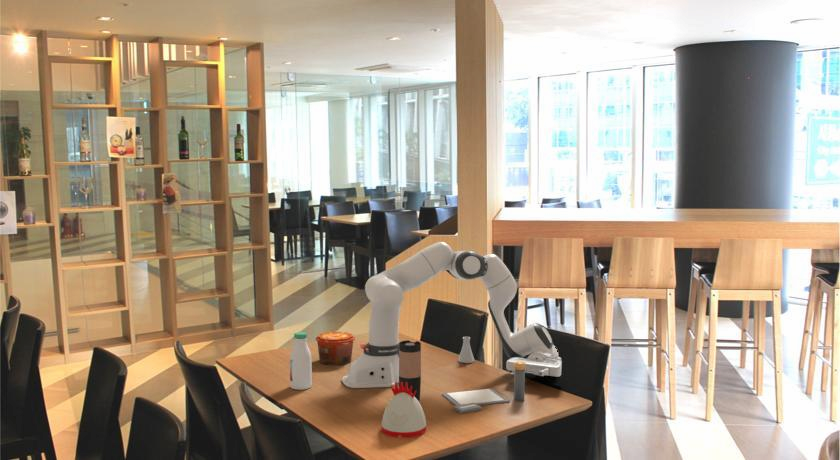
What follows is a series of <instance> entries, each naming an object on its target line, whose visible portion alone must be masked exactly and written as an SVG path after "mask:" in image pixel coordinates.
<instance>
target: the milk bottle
mask: <svg viewBox="0 0 840 460" xmlns="http://www.w3.org/2000/svg"><path fill="white" fill-rule="evenodd" d="M293 340H294V344H293V346H292V349H291V350H290V356H289V379H290V380H289V382H290V383H289V385H290V388H291V389H292V390H296V391H297V390H300V391H301V390H303V391H304V390H308V389H310V388H311V387H312V385H313V384H312V383H313V382H312V380H313V379H312V378H313V377H312V375H313V373H312V372H313V370H312V368H313V367H312V354H311V350H310V348H309V346H308V342H307V340H308V334H307V332H304V331H299V332H295V333H293Z"/></svg>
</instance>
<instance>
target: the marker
mask: <svg viewBox="0 0 840 460" xmlns="http://www.w3.org/2000/svg"><path fill="white" fill-rule="evenodd" d="M513 373H514V377H513V401H516V402H524V401H525V390H526V389H525V388H526V387H525V382H526V373H525V362H514V371H513Z"/></svg>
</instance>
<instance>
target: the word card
mask: <svg viewBox="0 0 840 460" xmlns="http://www.w3.org/2000/svg"><path fill="white" fill-rule="evenodd" d="M453 410H454V411H456V412H458V413H460V414H467V413H473V412H477V411H481V410H483V406H482V405H480V406H479V405H477V404H475V403H469V404H463V405H458V406H455V405H453Z"/></svg>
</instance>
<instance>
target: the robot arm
mask: <svg viewBox="0 0 840 460" xmlns="http://www.w3.org/2000/svg"><path fill="white" fill-rule="evenodd" d="M442 272H447V273H448V274H449V275H450V276H451V277H452V278H455V279H459V280H463V281H466V280H467V281H468V280H474V279H477V278H478V279H480V280H481V282H482V283H483V285H484V286H485V288H486V290H487V292H488V294H489V300H488V302H487V308H488V310H489V311H488V312H489V313H490V315H491V320H492V321H493V324H494V327H495V328H496V331H497V334H498V336H499V338H500V341H501V344H502V347H503V351H504V353H505V355H506V356H507V357H508V358H509V359H507V360H506V364H505V365H506V367H505V368H506V370H507V371H511V372H514V362H525V374H532V375H534V376H539V377H544V376H547V377H548V376H550V377H557V378H558V377H561V376H562V365H563V364H562V363H563V361H562V357H560V356H559V351H558V352H557V350H558V348H557V347H556V346H555V345H554V340H553V336H552V334H551V333H550V331H549V330H548V328H547V327H545V326H544V325H542V324H541V323H537V322H534V323H532V324H530V325H528V326H525V327H524V328H522V329H520V330H518V331H516V332H512V331H511V329H510V326H509V325H508V322H507V320H506V319H507V318H506V317H505V313H504V311H505V309H506V307H507V306H508V305H509V304H510V303H512V301H513V299H514V298H515V296H516V294H517V291H518V284H517V282H516V279H515V278H514V276H513V274H512V272H511V271H510V269H509V268H508V267H507V265H506V264H505V263H504V262H503V260H502V259H501V258H500V257H499V256H498V255H496V254H494V253H488V254H486V255H483V256H482V255H481V254H479V253H477V252H475V251H472V250H459V251H454V250H453V249H452V248H451V246H450V245H449V244H448V243H446V242H444V241H438V242H435V243H432V244H431V245H429V246H426V247H424V248H423V249H421V250H419V251H418V252H416V253H414V254H413V255H411V256H410V257H409V258H407V259H406V260H404V261H402V262H400V263H399V264H396V265H394V266H392V267H390V268H388V269H386V270H384V271H381V272H380V273H378V274H375V275H373V276H371V277H369V278H368V279H367V281H366V283H365V285H364V290H365V294H366V297H367V298H368V300H369V301H371V313H370V319H369V321H368V343H366V344H365V343H364V342H360V345H359V346H360V349H362V350H363V353H362V354H361V355H360V356H358V357H357V358H356V359H355V360H353V361H351V362H350V364H349V367H348V372H347V373H348V374H347V375H344V376H342V380H341V381H342V384H343V385H345V386H346V387H348V388H350V389H361V388H362V389H363V388H364V389H367V388H369V389H370V388H371V389H372V388H391V385H392V386H393V387H395V382H397V384H399V343H400V342H399V322H400V315H401V308H402V304H403V302H404V293H407V292H408V291H411V290H414V289H418V288H419V287H421V286H422V285H423V284H425V283H427V282H428V281H430V280H431V279H433V278H435V277H436V276H437V275H439V274H441V273H442ZM555 347H556V348H557V349H556V348H555ZM527 355H528V356H527ZM525 357H527V358H525Z"/></svg>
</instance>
